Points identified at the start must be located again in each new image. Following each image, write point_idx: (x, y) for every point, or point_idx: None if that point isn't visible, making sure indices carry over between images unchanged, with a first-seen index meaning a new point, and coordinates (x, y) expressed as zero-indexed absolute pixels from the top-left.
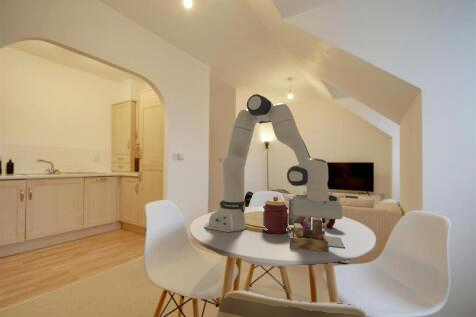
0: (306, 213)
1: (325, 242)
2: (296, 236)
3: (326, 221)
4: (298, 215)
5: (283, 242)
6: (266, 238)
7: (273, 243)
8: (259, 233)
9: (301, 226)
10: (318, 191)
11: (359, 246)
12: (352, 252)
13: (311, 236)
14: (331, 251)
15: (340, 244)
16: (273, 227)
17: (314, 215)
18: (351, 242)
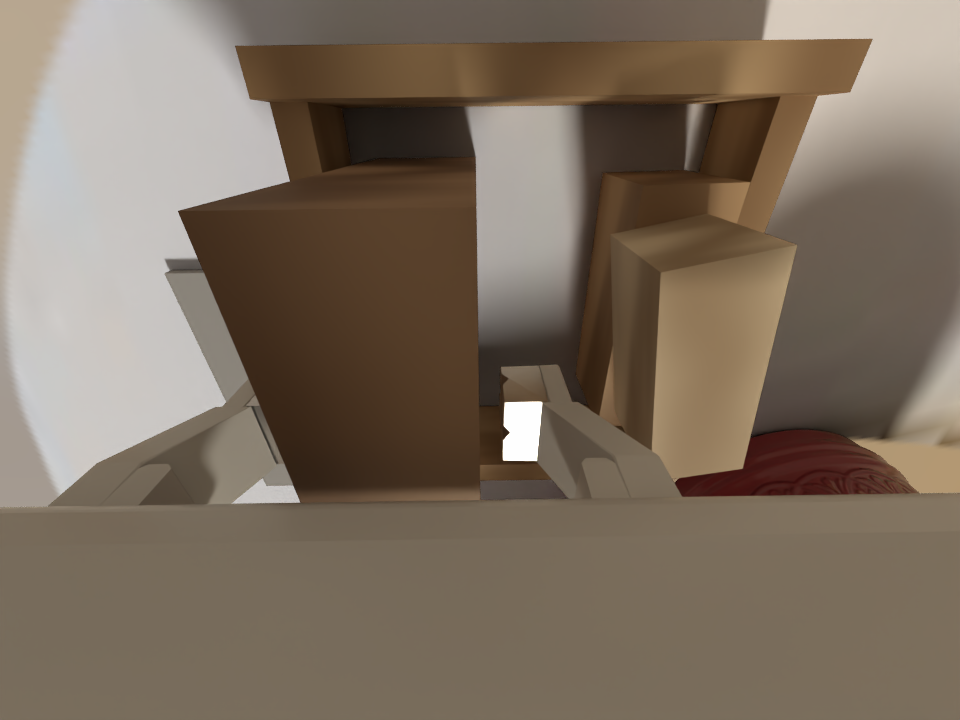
0: (750, 602)
1: (282, 46)
2: (711, 188)
3: (188, 472)
4: (950, 503)
5: (778, 231)
6: (930, 294)
7: (920, 154)
8: (938, 403)
9: (664, 357)
10: None
11: (82, 359)
12: (67, 167)
13: (483, 421)
14: (271, 112)
15: (224, 335)
16: (852, 470)
17: (425, 549)
18: (170, 426)
